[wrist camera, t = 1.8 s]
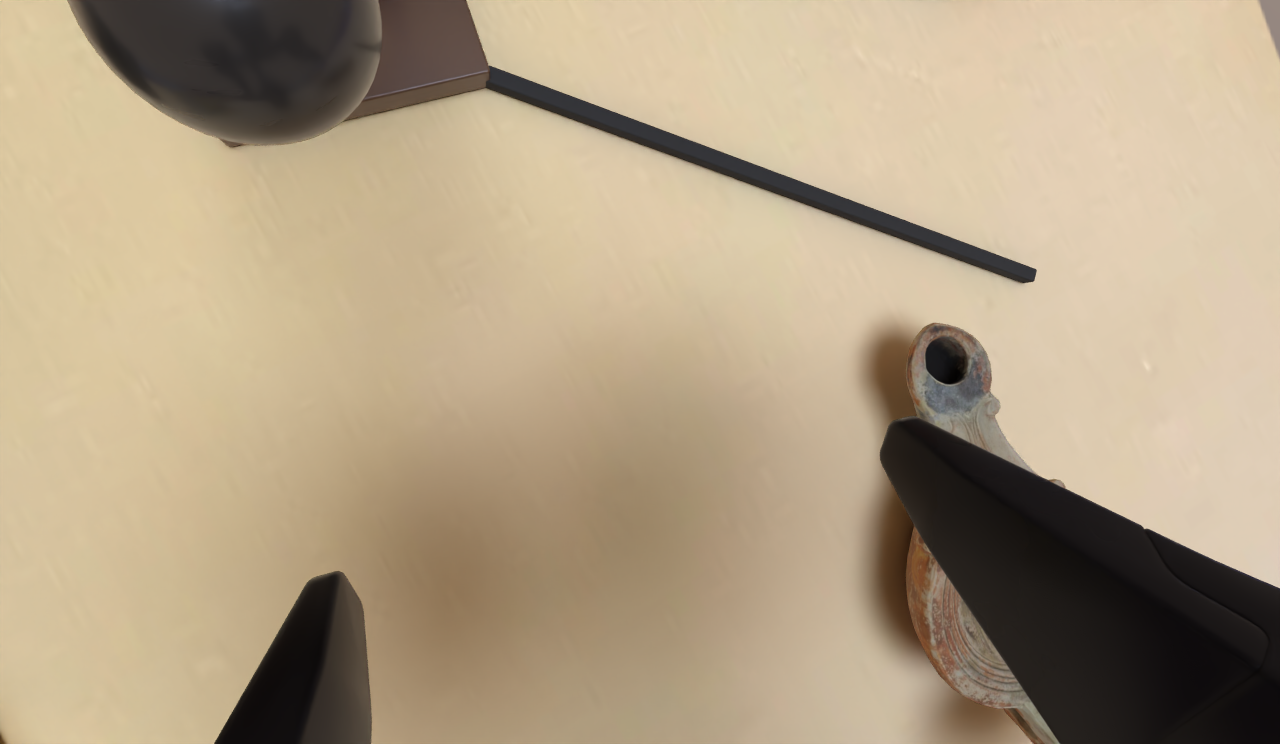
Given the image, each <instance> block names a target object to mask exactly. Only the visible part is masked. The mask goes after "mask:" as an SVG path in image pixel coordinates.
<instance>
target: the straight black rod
mask: <svg viewBox="0 0 1280 744" xmlns="http://www.w3.org/2000/svg"><path fill="white" fill-rule="evenodd" d="M489 69H490V80H488V81H486V88H489V89H492V90H494V91H497V92H500V93H503V94H505V95H508V96H511V97H514V98H516V99H519V100H522V101H525V102H527V103H530V104H533V105H536V106H538V107H541V108H544V109H547V110H549V111H552V112H555V113H558V114H560V115H563V116H566V117H569V118H571V119H574V120H577V121H580V122H582V123H585V124H588V125H591V126H593V127H596V128H599V129H602V130H604V131H607V132H610V133H613V134H615V135H618V136H621V137H624V138H626V139H629V140H632V141H635V142H637V143H640V144H643V145H646V146H648V147H651V148H654V149H657V150H659V151H662V152H665V153H668V154H670V155H673V156H676V157H679V158H681V159H684V160H687V161H690V162H692V163H695V164H698V165H701V166H703V167H706V168H709V169H712V170H714V171H717V172H720V173H723V174H725V175H728V176H731V177H734V178H736V179H739V180H742V181H745V182H747V183H750V184H753V185H755V186H758V187H761V188H764V189H766V190H769V191H772V192H775V193H777V194H780V195H783V196H786V197H788V198H791V199H794V200H797V201H799V202H802V203H805V204H808V205H810V206H813V207H816V208H819V209H821V210H824V211H827V212H830V213H832V214H835V215H838V216H841V217H843V218H846V219H849V220H852V221H854V222H857V223H860V224H863V225H865V226H868V227H871V228H874V229H876V230H879V231H882V232H885V233H887V234H890V235H893V236H896V237H898V238H901V239H904V240H907V241H909V242H912V243H915V244H918V245H920V246H923V247H926V248H929V249H931V250H934V251H937V252H940V253H942V254H945V255H948V256H951V257H953V258H956V259H959V260H962V261H964V262H967V263H970V264H973V265H975V266H978V267H981V268H984V269H986V270H989V271H992V272H995V273H997V274H1000V275H1003V276H1006V277H1008V278H1011V279H1014V280H1017V281H1019V282H1022V283H1027V282H1033V281H1034V279H1035V275H1036V271H1037V270H1036V269H1034V268H1031V267H1029V266H1026V265H1023V264H1020V263H1018V262H1015V261H1012V260H1010V259H1007V258H1004V257H1002V256H999V255H996V254H994V253H991V252H988V251H986V250H983V249H980V248H978V247H975V246H972V245H969V244H967V243H964V242H961V241H959V240H956V239H953V238H951V237H948V236H945V235H943V234H940V233H937V232H935V231H932V230H929V229H927V228H924V227H921V226H918V225H916V224H913V223H910V222H908V221H905V220H902V219H900V218H897V217H894V216H892V215H889V214H886V213H884V212H881V211H878V210H876V209H873V208H870V207H867V206H865V205H862V204H859V203H857V202H854V201H851V200H849V199H846V198H843V197H841V196H838V195H835V194H833V193H830V192H827V191H825V190H822V189H819V188H816V187H814V186H811V185H808V184H806V183H803V182H800V181H798V180H795V179H792V178H790V177H787V176H784V175H782V174H779V173H776V172H774V171H771V170H768V169H765V168H763V167H760V166H757V165H755V164H752V163H749V162H747V161H744V160H741V159H739V158H736V157H733V156H731V155H728V154H725V153H723V152H720V151H717V150H714V149H712V148H709V147H706V146H704V145H701V144H698V143H696V142H693V141H690V140H688V139H685V138H682V137H680V136H677V135H674V134H672V133H669V132H666V131H663V130H661V129H658V128H655V127H653V126H650V125H647V124H645V123H642V122H639V121H637V120H634V119H631V118H629V117H626V116H623V115H621V114H618V113H615V112H612V111H610V110H607V109H604V108H602V107H599V106H596V105H594V104H591V103H588V102H586V101H583V100H580V99H578V98H575V97H572V96H570V95H567V94H564V93H561V92H559V91H556V90H553V89H551V88H548V87H545V86H543V85H540V84H537V83H535V82H532V81H529V80H527V79H524V78H521V77H519V76H516V75H513V74H510V73H508V72H505V71H502V70H500V69H497V68H494V67H492V66H489Z"/></svg>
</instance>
